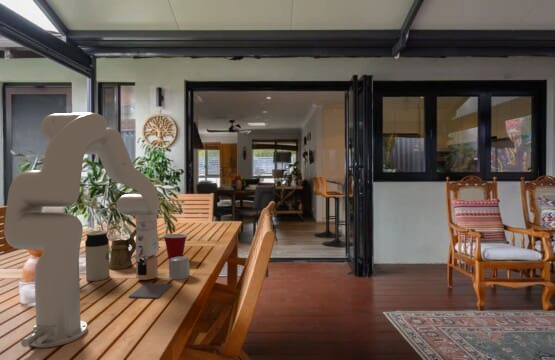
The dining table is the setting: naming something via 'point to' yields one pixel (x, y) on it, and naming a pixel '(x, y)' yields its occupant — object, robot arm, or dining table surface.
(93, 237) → the travel mug
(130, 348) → the dining table surface
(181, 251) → the plastic cup
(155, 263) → the terracotta cup
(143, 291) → the mat
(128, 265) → the wooden mug
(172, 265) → the grey cup
